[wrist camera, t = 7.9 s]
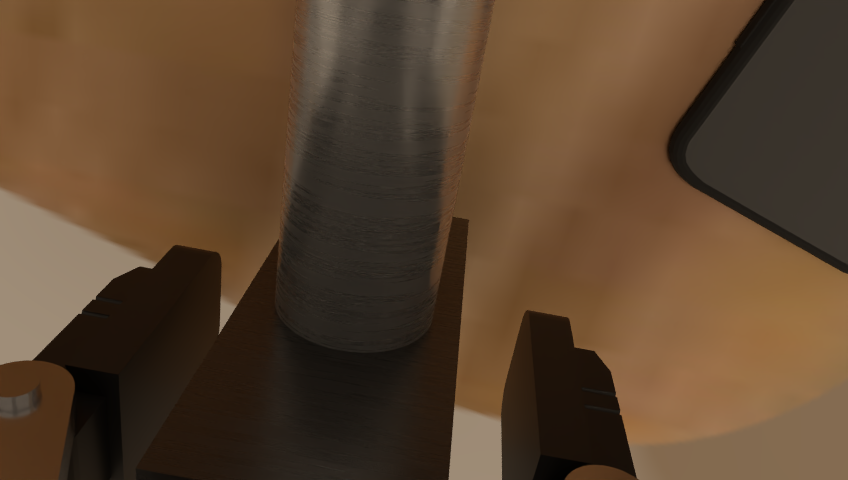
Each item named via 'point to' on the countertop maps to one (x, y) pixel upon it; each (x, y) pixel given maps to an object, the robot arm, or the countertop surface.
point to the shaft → (349, 263)
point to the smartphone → (778, 127)
